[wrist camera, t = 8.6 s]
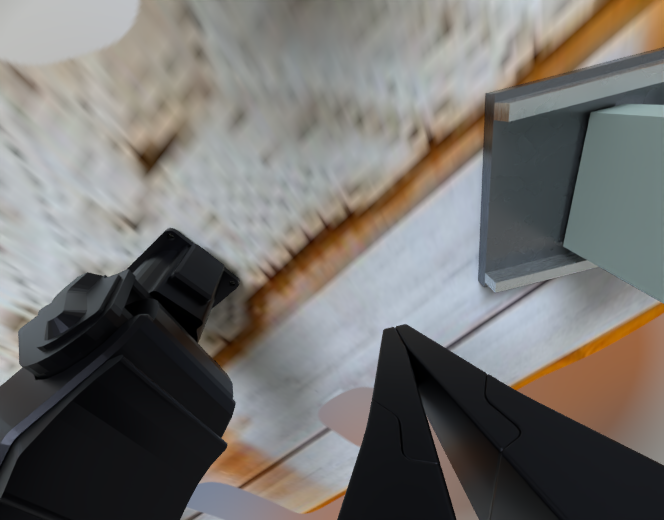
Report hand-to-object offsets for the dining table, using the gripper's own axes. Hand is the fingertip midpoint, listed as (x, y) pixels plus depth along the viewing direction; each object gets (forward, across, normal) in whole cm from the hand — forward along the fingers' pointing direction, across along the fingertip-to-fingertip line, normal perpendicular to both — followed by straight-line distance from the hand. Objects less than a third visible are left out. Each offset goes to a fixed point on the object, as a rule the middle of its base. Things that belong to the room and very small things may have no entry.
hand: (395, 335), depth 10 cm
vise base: (+13, +18, -2) cm, 23 cm away
